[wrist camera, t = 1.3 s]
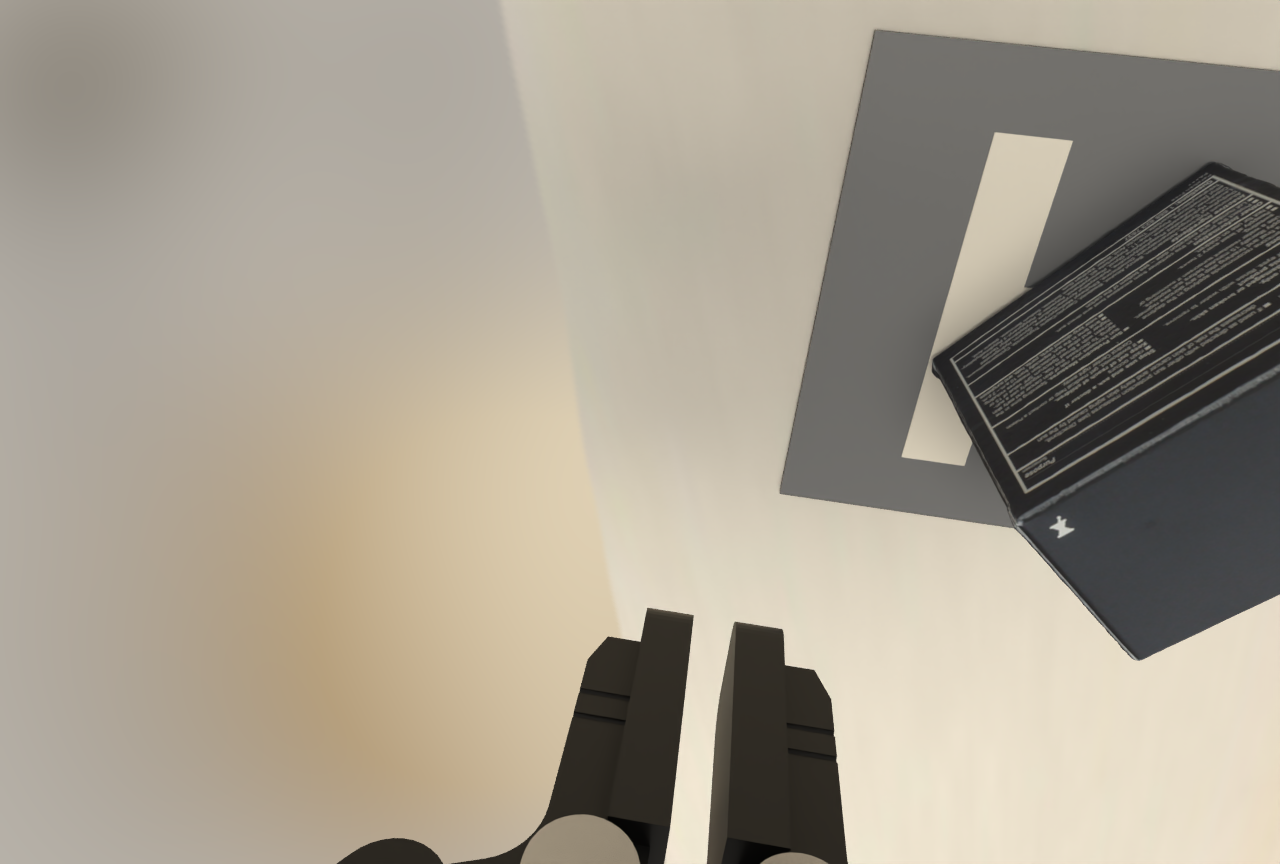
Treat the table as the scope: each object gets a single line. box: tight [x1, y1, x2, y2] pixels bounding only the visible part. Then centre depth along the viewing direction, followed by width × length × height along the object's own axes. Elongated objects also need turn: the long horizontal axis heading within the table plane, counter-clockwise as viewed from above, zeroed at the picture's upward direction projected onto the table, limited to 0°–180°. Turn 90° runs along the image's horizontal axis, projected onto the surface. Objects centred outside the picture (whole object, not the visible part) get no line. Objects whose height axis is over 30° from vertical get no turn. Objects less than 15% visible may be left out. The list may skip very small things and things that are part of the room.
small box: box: [932, 162, 1280, 661], centre depth 23 cm, size 11×6×10 cm, turn 134°
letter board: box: [780, 30, 1280, 528], centre depth 28 cm, size 17×20×1 cm
